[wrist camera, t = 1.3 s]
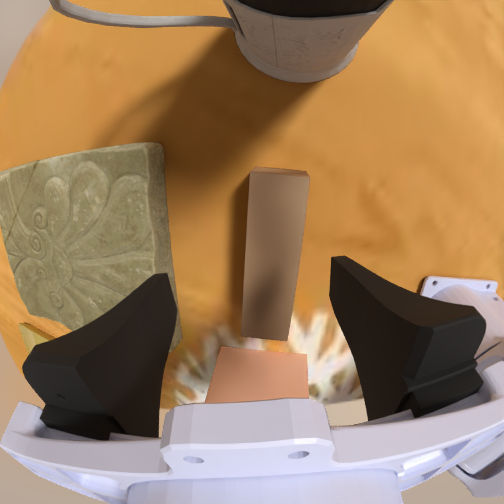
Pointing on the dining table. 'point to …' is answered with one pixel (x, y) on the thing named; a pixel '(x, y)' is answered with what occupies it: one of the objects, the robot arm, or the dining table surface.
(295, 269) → the walnut stick
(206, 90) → the dining table surface
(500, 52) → the dining table surface
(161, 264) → the decorative tile
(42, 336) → the saucer
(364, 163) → the dining table surface
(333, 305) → the robot arm
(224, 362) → the glazed tile
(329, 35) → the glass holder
